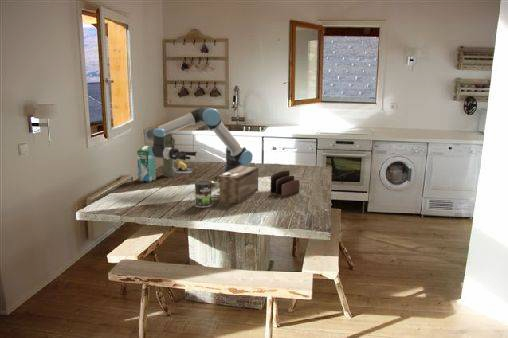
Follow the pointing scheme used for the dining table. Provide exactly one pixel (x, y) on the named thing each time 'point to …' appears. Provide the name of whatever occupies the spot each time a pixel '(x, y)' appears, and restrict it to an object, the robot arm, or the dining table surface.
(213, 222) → the dining table surface
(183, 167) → the stuffed giraffe
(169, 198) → the dining table surface
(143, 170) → the milk carton
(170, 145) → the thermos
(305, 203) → the dining table surface
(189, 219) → the dining table surface
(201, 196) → the coffee can
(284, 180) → the letter holder
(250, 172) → the box
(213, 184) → the button
